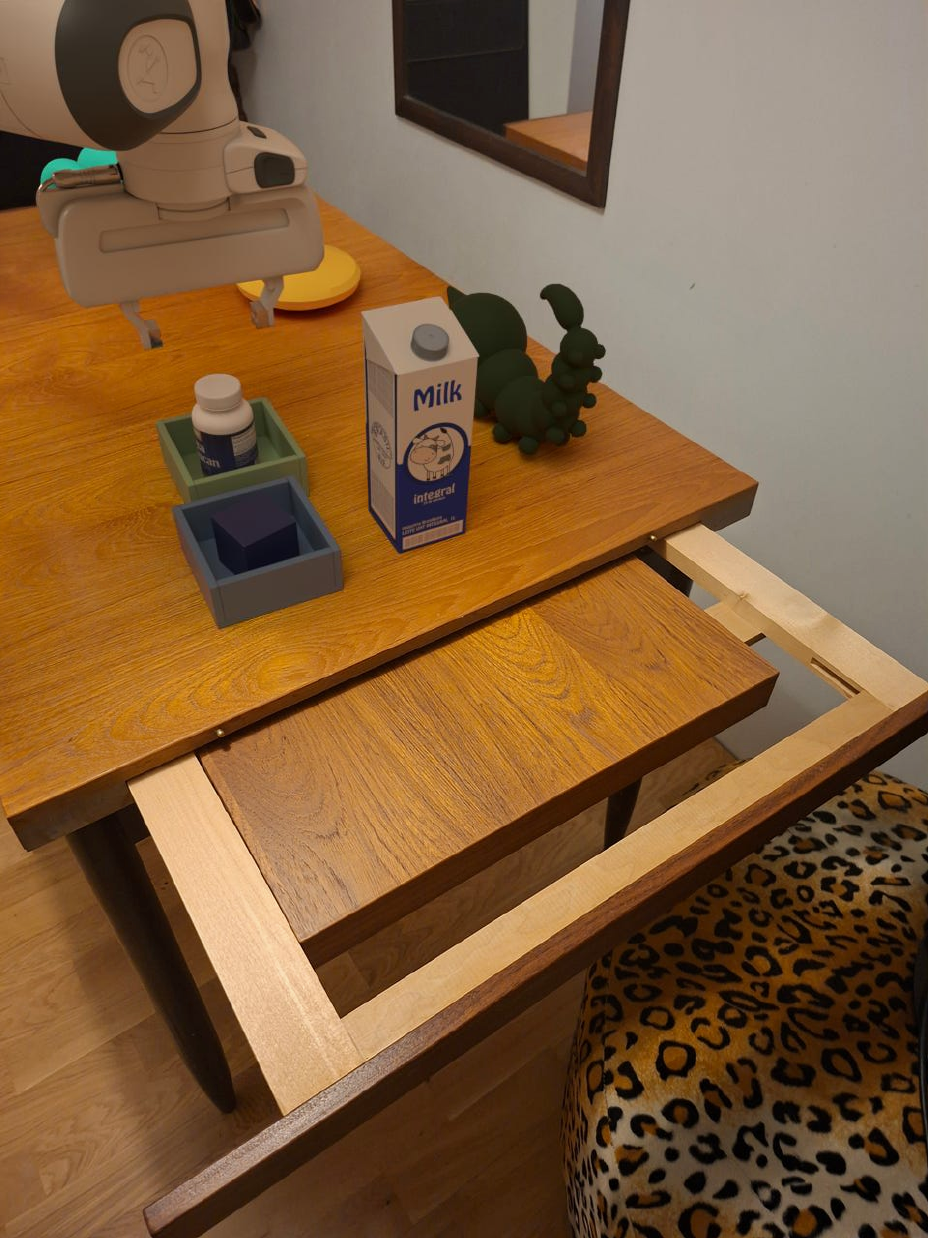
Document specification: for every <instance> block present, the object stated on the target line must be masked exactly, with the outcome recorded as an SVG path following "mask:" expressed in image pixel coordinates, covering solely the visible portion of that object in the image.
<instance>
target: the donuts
mask: <svg viewBox="0 0 928 1238" xmlns="http://www.w3.org/2000/svg"><path fill="white" fill-rule="evenodd" d="M110 164H117V158H116V153H115V151H100V150H94V149H89V148H84V147H83V149H82V150H80V153H79V155H78V157H77V160H73V159H70V158H63V157H61V158H56V159H53V160H51V161H49V162H48V163H47V164H46V165H45V167H44V168H43V169H42V172H41V175H40V185H41V184H42V183H43V182H44V181H45V180H47V179H49V178H51V177H52V173H53V172H55V171H59V170H64V169H71V170H80V169H82V170H83V169H87V168H91V167H94V166H102V165H110ZM121 183H122V182H121ZM52 187H56V186H55V184H52V185H50V186H49V187H48V188H52Z"/></svg>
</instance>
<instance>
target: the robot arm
mask: <svg viewBox="0 0 928 1238" xmlns="http://www.w3.org/2000/svg"><path fill="white" fill-rule="evenodd" d="M227 11H228V10H227V5H226V0H0V131H1V132H7V133H12V134H16V135H20V136H24V137H30V138H34V139H38V140H39V139H40V140H43V141H48V142H53V143H61V144H66V145H69V146H70V145H71V146H75V147H80V148H83V149H84V148H89V149H94V150H100V151H115V153H116V158H117V164H110V165H102V166H94V167H91V168H87V169H83V170H82V169H80V170H71V169H64V170H59V171H55V172H53V173H52V177H51V178H49V179H47V180H45V181H44V182H43V183H42V184H41V183H40V185H39V186H38V188H37V190H36V193H35V204H36V207H37V210H38V214H39V218H40V221H41V224H42V226H43V228H44V230H45V231H46V232H47V233H48V234H49V235H50V236H51V237H53V241H54V247H55V248H54V249H55V255H56V262H57V267H58V270H59V275H60V279H61V282H62V285H63V287H64V290H65V292H66V295H67V296H68V297H69V299H70V300H72V301H73V302H74V303H76V304H77V305H78V306H80V307H81V308H83V309H90V308H96V307H102V306H107V305H108V306H109V305H115V304H117V306H118V308H119V309H120V311H121V313H122V315H123V316H124V317H125V318H126V319H127V321H129V322H130V324H132V325H133V326H134V328H135V329H137V332H138V337H139V340H140V344H141V345H142V347H143V349H144V351H149V350H154V349H158V348H164V342H163V339H162V333H161V328H160V326H159V324H157V321H156V319H155V318H150V319H144V318H143V317H142V315H140V314H139V312H141V311H142V308H141V303H140V300H145V299H152V298H157V297H163V296H169V295H177V294H181V293H182V294H183V293H188V292H194V291H201V290H206V289H212V288H218V287H225V286H230V285H231V286H232V285H236V284H237V283H243V282H250V281H256V280H262V281H263V283H264V284H265V285H264V287H263V290H262V292H261V295H260V297H259V301H249V309H250V311H251V314H250V317H251V322H252V324H253V326H255V328H256V329H257V330H262V329H266V328H271V327H275V315H274V309H276V308H275V306H276V304H277V302H278V299H279V297H280V295H281V293H282V291H283V289H284V279H283V276H286V275H292V274H299V273H305V272H311V271H315V270H317V268H318V267H319V265H320V264H321V262H322V260H323V259H324V244H325V240H324V239H325V238H324V232H323V231H324V230H323V224H322V219H321V213H320V209H319V205H318V201H317V198H316V196H315V194H314V193H313V191H312V190H311V189H310V187H309V186H307V185H306V182H307V180H308V175H309V174H308V173H309V167H308V160H307V158H306V157H305V156H304V154H303V152H301V150H300V149H299V148H298V147H297V146H296V145H295V144H294V143H293V142H292V141H290V140H289V139H288V138H287V137H286V136H284V135H283V134H282V133H280V132H278V131H277V130H275V129H273V128H270V127H266V126H263V125H259V124H254V123H251V122H247V121H242V120H240V117H239V110H238V105H237V100H236V97H235V95H234V93H233V91H232V87H231V84H230V80H229V73H228V70H229V69H228V63H229V61H228V60H229V53H230V47H231V45H230V44H231V38H230V37H231V36H230V28H229V20H228V12H227ZM121 182H122V183H121ZM52 184H55V186H56V187H52V188H48V187H49V186H50V185H52Z"/></svg>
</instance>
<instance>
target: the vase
mask: <svg viewBox="0 0 928 1238" xmlns="http://www.w3.org/2000/svg"><path fill="white" fill-rule="evenodd" d="M361 273H362V270H361V268H360V265H359V264H358V262H357V261H356V260H355V259H354V258H353V257H352V256H351V255H350V254H349V253H348V252H346V251H344V250H343V249H341V248H338V247H337V246H333V245H329V244H326V243H324V259H323V260H322V262H321V264H320V265H319V267H318V268H317V270H315V271H311V272H305V273H299V274H292V275H286V276H283V279H284V289H283V291H282V293H281V295H280V297H279V299H278V302H277V304H276V306H275V308H274V309H277V310H284V311H295V312H302V311H313V310H317V309H322V308H326V307H329V306H332V305H334V304H337V303H339V302H342V301H345V300H346V299H347V298H348V297H350V296H351V295H353V294H354V293H355V291H356V290H357V288H359V287H358V286H359V283H360V280H361V276H362V275H361ZM235 285H236V288H237V289H238V291H239V292H240V293H241V294H242V295H243V296H244V297H245V298H246V299H248V300H250V301H251V302H254V301H259V297H260V295H261V292H262V290H263V287H264V285H265V284H264V283H263V281H262V280H256V281H250V282H243V283H237V284H235Z"/></svg>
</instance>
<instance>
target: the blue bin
mask: <svg viewBox="0 0 928 1238" xmlns="http://www.w3.org/2000/svg"><path fill="white" fill-rule="evenodd" d="M260 492H262V493H263V494H264V495H266V496H267V497H268V498H269V499H270V500H272V501H273V502H274V503H275V504H276V505H277V506H279V507H280V508H281V509H282V510H283V511H285V512H286V513H287V514H288V515H289V516H291V517H292V518H293V519H294V520H295V521H296V525H297V534H298V543H299V552H300V556H298V557H295V558H291V559H288V560H284V561H281V562H278V563H274V564H271V565H268V566H264V567H261V568H258V569H254V570H251V571H248V572H244V573H241V574H238V575H234V574H233V573H232V572H231V571H230V570H229V569H228V568H227V567H226V566H225V565H224V564H223V563H222V562H220V561H219V556H218V551H217V546H216V541H215V536H214V532H213V527H212V522H211V517H210V516H211V515H213V514H215V513H217V512H220V511H222V510H224V509H226V508H228V507H230V506H232V505H235V504H237V503H239V502H241V501H243V500H245V499H247V498H250V497H252V496H254V495H256V494H258V493H260ZM170 510H171V512H172V513H171V514H172V517H173V521H174V525H175V529H176V533H177V537H178V542H179V545H180V549H181V551H182V553H183V556H184V557H185V559H186V562H187V564H188V567H189V568H190V570H191V573H192V574H193V575H192V576H193V577H194V579H195V582H196V583H197V585H198V588H199V590H200V592H201V594H202V597H203V599H204V601H205V603H206V605H207V607H208V610H209V612H210V614H211V615H212V618H213V620H214V622H215V625H216V627H217V629H223V628H227V627H231V626H233V625H236V624H239V623H242V622H245V621H248V620H251V619H255V618H258V617H261V616H264V615H267V614H270V613H273V612H276V611H280V610H282V609H287V608H289V607H292V606H295V605H298V604H301V603H305V602H308V601H311V600H314V599H317V598H321V597H323V596H327V595H330V594H333V593H337V592H339V591H342V590H344V575H343V574H344V573H343V560H342V548H341V546H340V545H339V544H338V543H337V541H336V539H335V538H334V536H333V535H332V533H331V532H330V530H329V528H328V527H327V525H326V523H325V522H324V521H323V519H322V517H321V515H320V513H318V511H317V509H316V508H315V506H314V505H313V503H312V501H311V500H310V499H309V496H308V497H307V495H306V494H305V492H304V491H303V489H302V488H301V486H300V484H299V483H298V481H297V480H296V478H295V477H294V475H292V476H288V477H287V478H286V477H284V478H281V479H277V480H273V481H269V482H265V483H262V484H258V485H254V486H250V487H246V488H242V489H239V490H235V491H231V492H227V493H223V494H220V495H216V496H212V497H208V498H204V499H200V500H197V501H193V502H189V503H182V504H178V505H174V506H171V509H170Z"/></svg>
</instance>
